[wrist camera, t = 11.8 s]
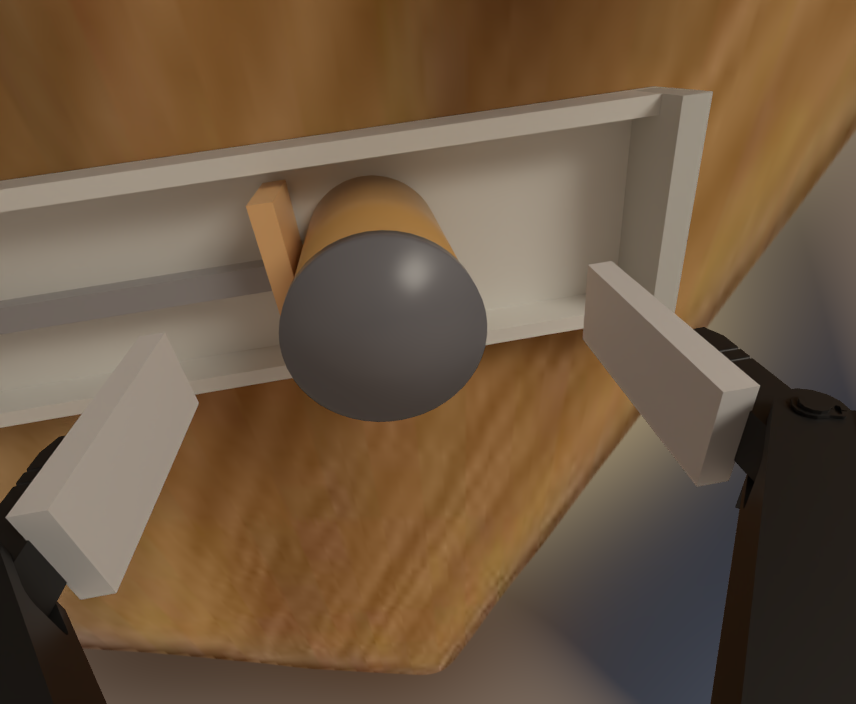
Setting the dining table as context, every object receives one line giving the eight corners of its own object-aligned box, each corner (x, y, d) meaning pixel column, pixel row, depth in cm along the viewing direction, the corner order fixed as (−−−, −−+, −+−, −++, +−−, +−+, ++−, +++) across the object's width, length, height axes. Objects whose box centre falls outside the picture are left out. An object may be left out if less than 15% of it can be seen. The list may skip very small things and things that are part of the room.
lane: (-265, 219, 20) (-452, 267, 16) (654, 86, 22) (734, 93, 18) (-93, 415, 26) (-191, 494, 21) (630, 294, 28) (686, 341, 23)
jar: (289, 184, 22) (250, 257, 13) (433, 163, 22) (481, 222, 14) (322, 313, 25) (307, 436, 17) (446, 293, 26) (491, 403, 17)
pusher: (-301, 266, 20) (-434, 308, 17) (285, 179, 21) (272, 201, 18) (-163, 408, 24) (-248, 465, 21) (324, 328, 25) (319, 369, 22)
